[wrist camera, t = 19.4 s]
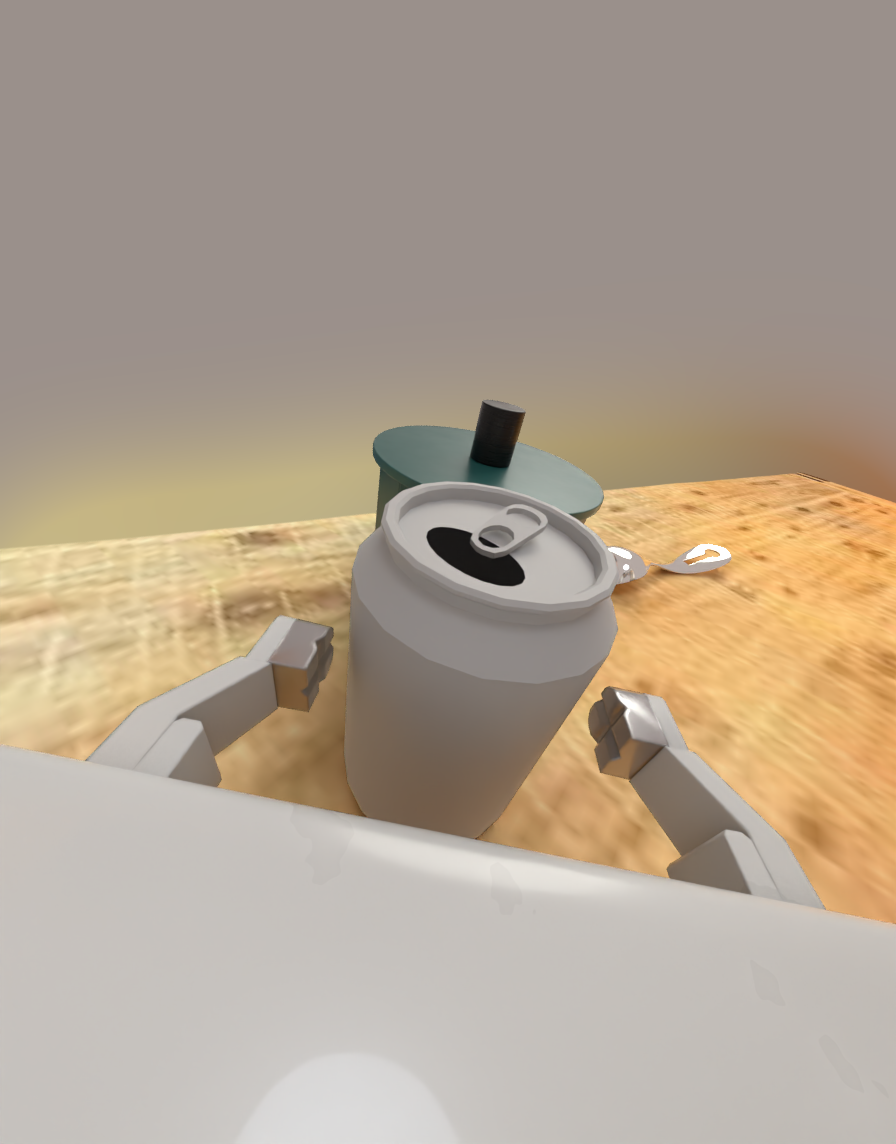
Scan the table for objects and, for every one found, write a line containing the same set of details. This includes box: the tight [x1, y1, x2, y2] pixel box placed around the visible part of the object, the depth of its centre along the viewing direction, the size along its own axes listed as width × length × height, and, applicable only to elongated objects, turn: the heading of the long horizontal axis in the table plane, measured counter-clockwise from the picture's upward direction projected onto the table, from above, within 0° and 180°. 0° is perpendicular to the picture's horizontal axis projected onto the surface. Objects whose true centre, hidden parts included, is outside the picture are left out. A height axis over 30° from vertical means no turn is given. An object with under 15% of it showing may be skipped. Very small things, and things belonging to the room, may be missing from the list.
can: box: [344, 481, 619, 839], centre depth 13 cm, size 8×8×12 cm
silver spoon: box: [607, 545, 731, 584], centre depth 35 cm, size 20×4×5 cm
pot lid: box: [373, 400, 604, 521], centre depth 20 cm, size 13×13×4 cm
